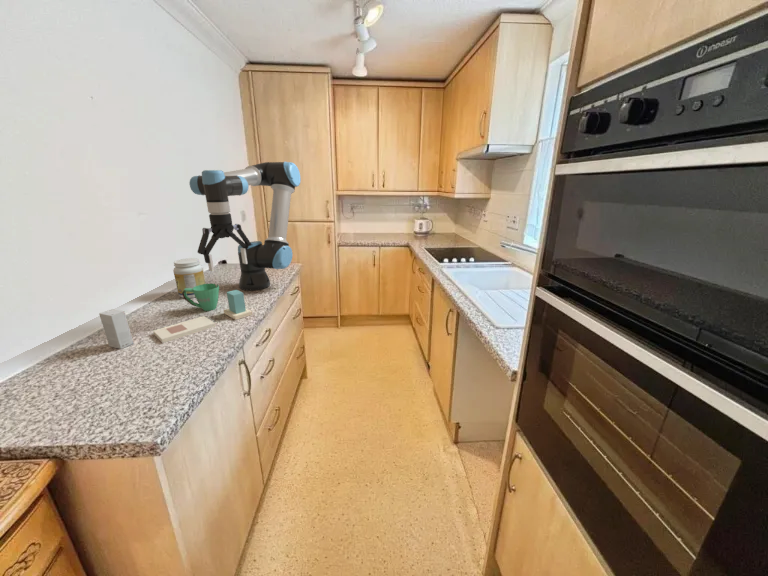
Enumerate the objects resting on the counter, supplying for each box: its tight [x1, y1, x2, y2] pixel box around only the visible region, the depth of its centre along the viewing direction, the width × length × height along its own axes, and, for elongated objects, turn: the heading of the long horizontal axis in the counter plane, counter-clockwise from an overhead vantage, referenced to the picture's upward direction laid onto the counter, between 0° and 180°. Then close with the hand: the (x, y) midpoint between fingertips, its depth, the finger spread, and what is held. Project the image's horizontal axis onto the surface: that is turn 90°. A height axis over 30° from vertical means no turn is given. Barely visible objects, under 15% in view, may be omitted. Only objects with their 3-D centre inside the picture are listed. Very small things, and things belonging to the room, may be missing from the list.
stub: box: [223, 289, 253, 321], centre depth 129 cm, size 7×10×10 cm
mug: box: [182, 283, 220, 312], centre depth 134 cm, size 15×10×10 cm
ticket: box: [152, 315, 218, 344], centre depth 116 cm, size 18×10×2 cm, turn 139°
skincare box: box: [98, 308, 134, 350], centre depth 104 cm, size 6×4×12 cm
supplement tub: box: [172, 257, 207, 299], centre depth 150 cm, size 12×12×17 cm
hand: (229, 267), depth 127 cm, fingers open, 13 cm apart
